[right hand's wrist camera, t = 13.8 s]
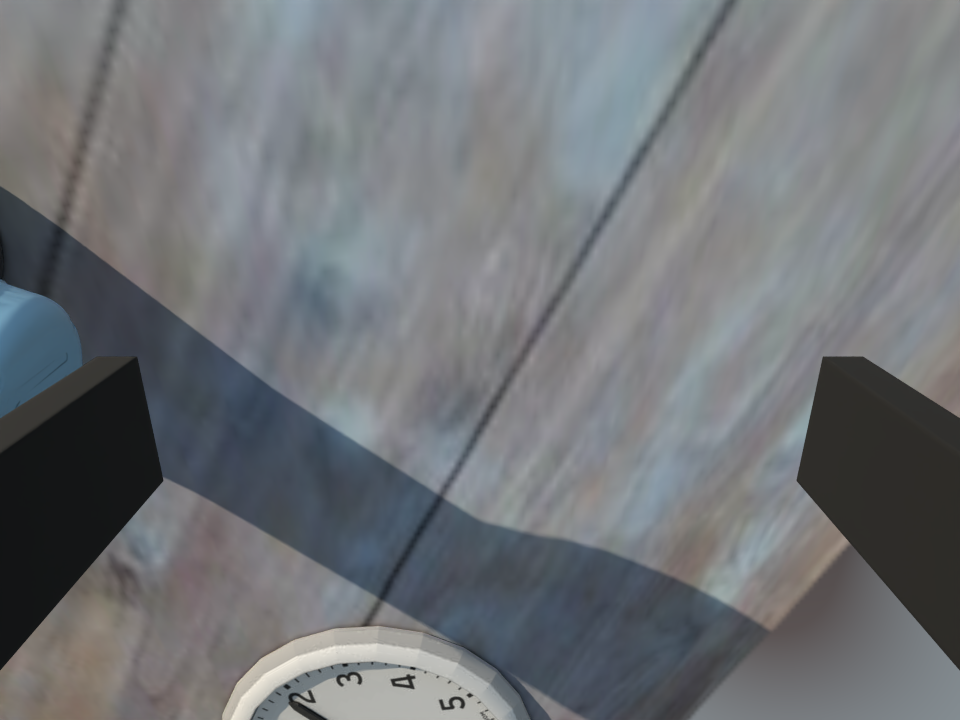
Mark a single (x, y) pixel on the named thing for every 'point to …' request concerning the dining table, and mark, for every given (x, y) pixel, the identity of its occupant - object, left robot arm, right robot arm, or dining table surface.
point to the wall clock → (373, 680)
